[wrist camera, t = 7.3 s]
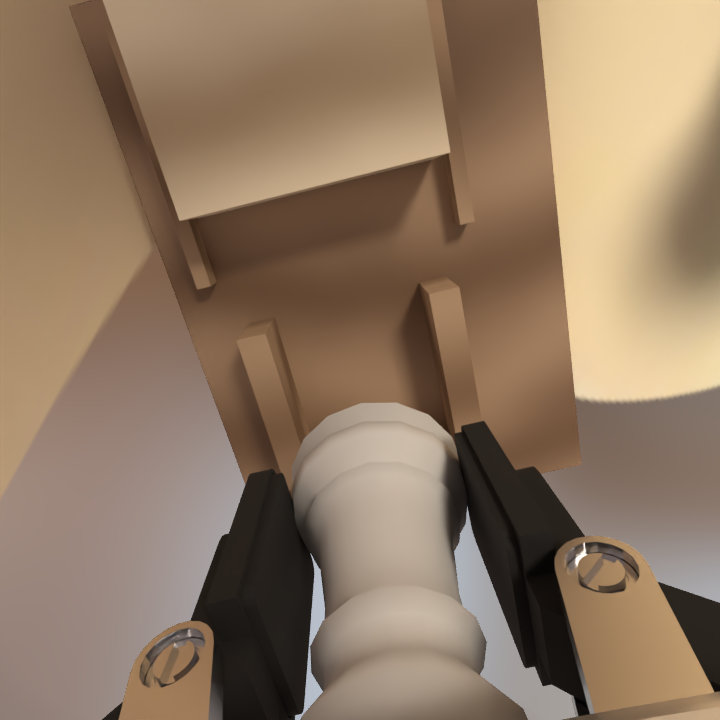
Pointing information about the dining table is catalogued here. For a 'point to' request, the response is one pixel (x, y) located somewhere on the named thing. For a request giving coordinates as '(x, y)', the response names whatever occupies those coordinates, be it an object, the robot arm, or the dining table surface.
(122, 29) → the cream rectangular block
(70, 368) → the dining table surface
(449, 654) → the rook chess piece
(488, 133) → the board
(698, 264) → the dining table surface
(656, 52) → the dining table surface
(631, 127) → the dining table surface
